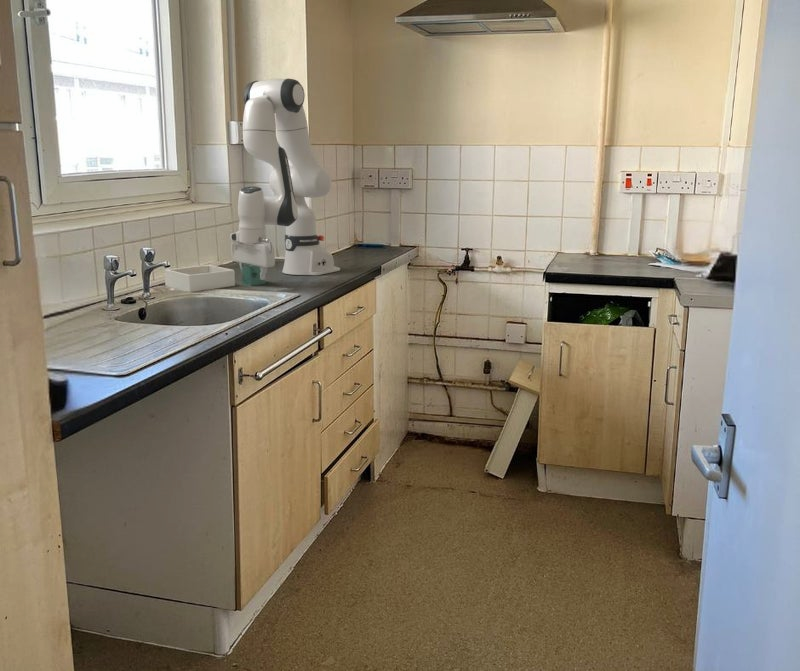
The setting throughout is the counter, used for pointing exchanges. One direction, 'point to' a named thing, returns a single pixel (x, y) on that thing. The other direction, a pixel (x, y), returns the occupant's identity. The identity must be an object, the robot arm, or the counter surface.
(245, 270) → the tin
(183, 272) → the tote
